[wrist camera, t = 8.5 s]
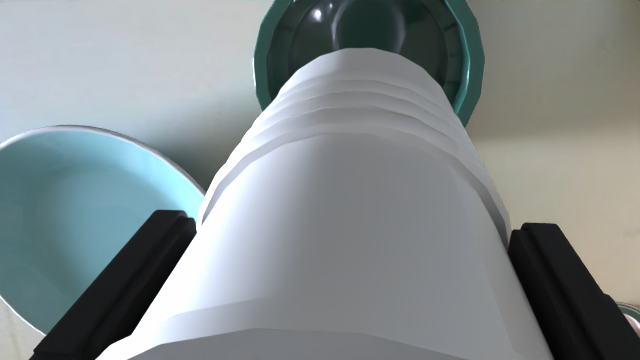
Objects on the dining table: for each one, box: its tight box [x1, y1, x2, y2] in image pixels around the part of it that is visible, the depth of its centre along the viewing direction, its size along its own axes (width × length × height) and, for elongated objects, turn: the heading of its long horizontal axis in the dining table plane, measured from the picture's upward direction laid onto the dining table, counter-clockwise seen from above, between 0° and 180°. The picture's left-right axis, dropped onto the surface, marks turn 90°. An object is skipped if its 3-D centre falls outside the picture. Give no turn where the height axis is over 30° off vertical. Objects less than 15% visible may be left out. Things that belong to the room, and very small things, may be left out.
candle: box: [96, 48, 554, 360], centre depth 12 cm, size 7×7×15 cm
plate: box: [0, 125, 207, 336], centre depth 38 cm, size 22×22×3 cm
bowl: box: [253, 0, 485, 128], centre depth 28 cm, size 13×13×5 cm
